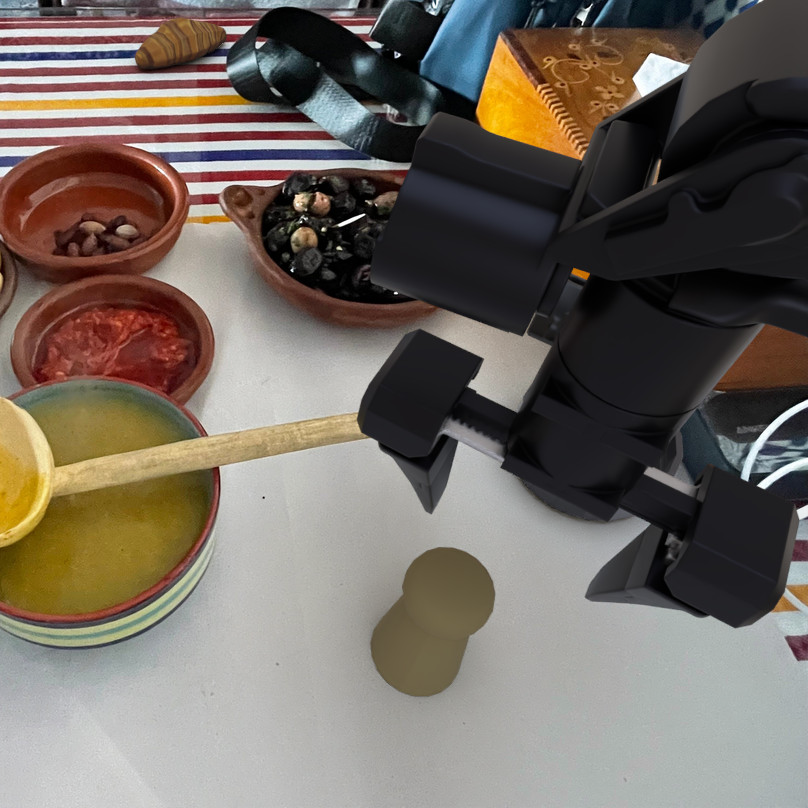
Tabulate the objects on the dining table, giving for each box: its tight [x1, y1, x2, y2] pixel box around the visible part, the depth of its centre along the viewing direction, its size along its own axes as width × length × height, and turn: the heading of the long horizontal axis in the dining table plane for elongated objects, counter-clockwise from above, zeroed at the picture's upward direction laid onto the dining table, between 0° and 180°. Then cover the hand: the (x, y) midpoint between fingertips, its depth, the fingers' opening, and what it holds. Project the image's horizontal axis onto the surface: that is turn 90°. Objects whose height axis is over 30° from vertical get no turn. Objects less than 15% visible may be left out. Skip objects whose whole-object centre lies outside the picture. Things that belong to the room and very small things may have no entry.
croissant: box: [134, 17, 228, 70], centre depth 96 cm, size 14×7×5 cm, turn 129°
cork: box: [370, 546, 496, 698], centre depth 46 cm, size 6×6×11 cm
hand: (508, 548), depth 41 cm, fingers open, 9 cm apart
